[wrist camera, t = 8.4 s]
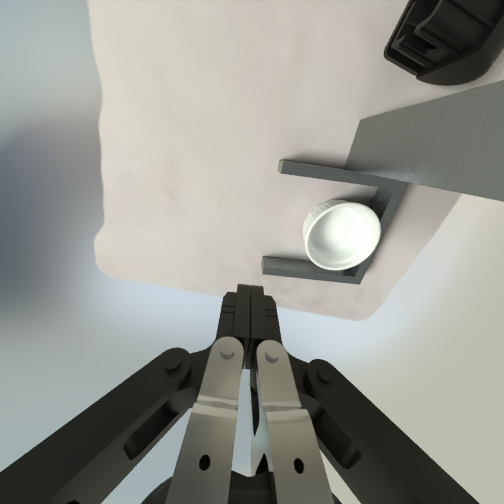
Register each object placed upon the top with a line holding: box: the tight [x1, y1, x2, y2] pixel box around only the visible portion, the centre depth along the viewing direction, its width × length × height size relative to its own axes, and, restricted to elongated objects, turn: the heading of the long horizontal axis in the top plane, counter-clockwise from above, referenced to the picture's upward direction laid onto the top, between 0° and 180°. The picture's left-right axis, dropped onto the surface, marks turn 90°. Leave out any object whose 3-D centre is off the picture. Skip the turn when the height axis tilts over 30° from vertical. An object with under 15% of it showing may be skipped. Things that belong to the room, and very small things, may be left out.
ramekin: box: [303, 200, 381, 270], centre depth 25 cm, size 9×9×4 cm
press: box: [261, 80, 504, 284], centre depth 18 cm, size 19×14×18 cm
